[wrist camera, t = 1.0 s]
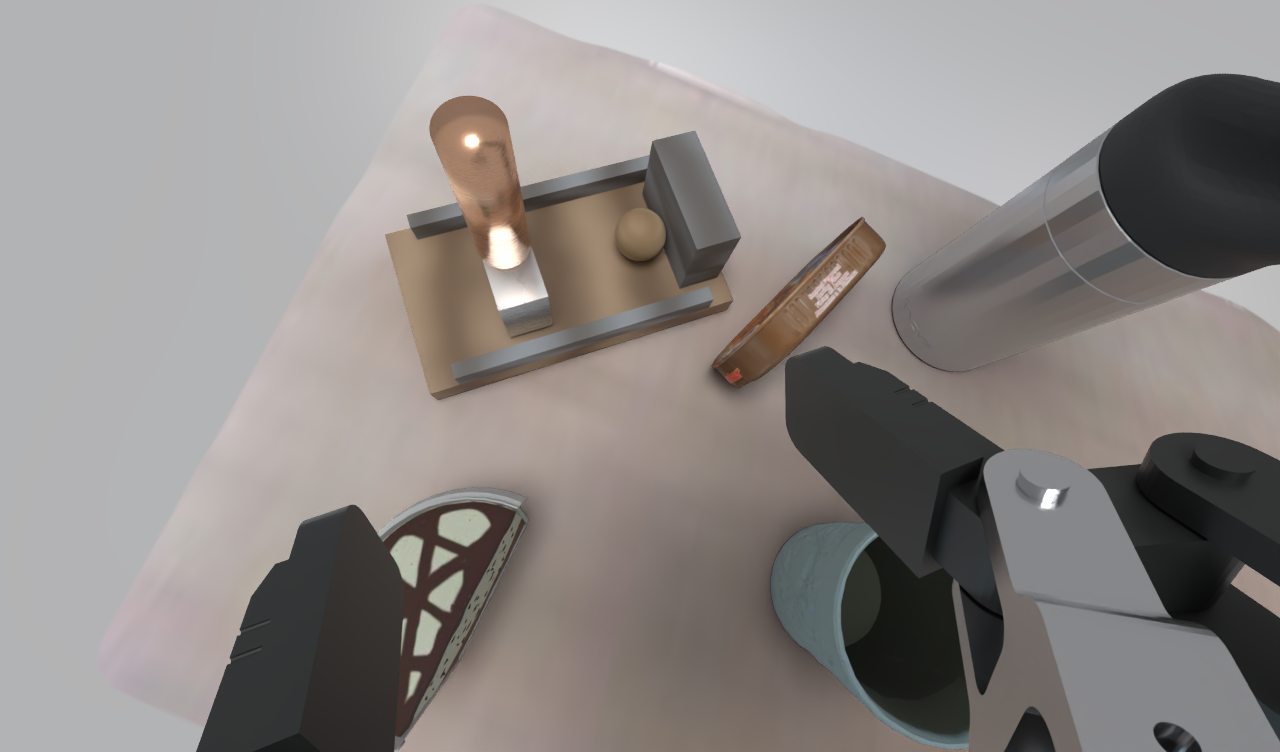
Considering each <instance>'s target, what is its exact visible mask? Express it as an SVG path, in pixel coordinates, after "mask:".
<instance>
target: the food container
mask: <svg viewBox="0 0 1280 752" xmlns="http://www.w3.org/2000/svg"><path fill="white" fill-rule="evenodd" d="M526 499H527V497H524V496H521V495H519V494H516V493H513V492H510V491H505V490H500V489H495V488H477V487H472V488H464V489H455V490H451V491H447V492H444V493H440V494H437V495H434V496H432V497H429V498H427V499H425V500H422V501H420V502H418V503H416V504H414V505H413V506H411V507H410V508H408V509H406V510H405V511H403V512H402V513H400V514H399V515H398V516H396V517H395V518H394V519H393V520H392V521H390V522H389V523H388V524H387V525H386V526H384V527H383V528H382V529H381V530H380V531H379V532H377V534H378V535H379V537H380V538H381V540H382V541H383V543H384V544H385V546H386V547H387V549H388V550H389V552H390V553H391V555H392V556H393V558H394V559H395V561H396V563H397V565H398V567H399V570H400V573H401V576H402V580H403V585H404V610H403V625H402V641H401V656H400V671H399V686H398V702H397V717H396V732H395V747H394V752H397V751H398V750H399V749H400V748H401V747H402V746H403V745H404V743H405V740H404V739H405V738H406V736H407V735H408V733H409V732H410V731H411V729H412V728H413V726H414V725H415V724H416V722H417V721H418V719H419V718H420V717H421V715H422V714H423V712H424V711H425V710H426V708H427V707H428V705H429V704H430V702H431V701H432V700H433V698H434V697H435V695H436V694H437V693H438V691H439V690H440V688H441V687H442V686H443V684H444V683H445V681H446V680H447V679H448V677H449V676H450V674H451V673H452V672H453V670H454V669H455V667H456V666H457V664H458V663H459V661H460V659H461V657H462V655H463V653H464V651H465V649H466V647H467V645H468V643H469V641H470V639H471V637H472V635H473V633H474V631H475V629H476V627H477V625H478V623H479V621H480V619H481V617H482V615H483V613H484V611H485V609H486V606H487V604H488V602H489V600H490V598H491V596H492V594H493V592H494V590H495V588H496V586H497V584H498V582H499V580H500V578H501V576H502V574H503V572H504V570H505V568H506V566H507V564H508V562H509V560H510V558H511V556H512V554H513V552H514V550H515V548H516V546H517V544H518V542H519V540H520V538H521V536H522V533H523V531H524V529H525V527H526V525H527V523H528V521H529V520H528V518H527V517H526V515H525V514H524V513H523V511H522V510H521V508H520V506H521V504H523V503H524V502H525V501H526Z"/></svg>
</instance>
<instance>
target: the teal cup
mask: <svg viewBox="0 0 1280 752" xmlns="http://www.w3.org/2000/svg"><path fill="white" fill-rule="evenodd" d="M953 579H954V578H953V577H952V576H951V575H950V574H949V573H948V572H947V571H946V570H945V569H944V568H941V569H939V570H936V571H934V572H932V573H930V574H927V575H925V576H923V577H921V578H918V577H917V576H916V575H915V574H914V573H913V572H912V571H911V570H910V569H909V567H908V566H907V565H906V564H905V563H904V562H903V561H902V560H901V559H900V558H899V557H898V556H897V555H896V554H895V553H894V552H893V550H892V549H891V548H890V547H889V546H888V545H887V544H886V543H885V542H884V541H883V540H882V539H881V538H880V537H879V536H878V535H877V534H876V532H875V531H874V530H873V529H872V528H871V527H870V526H869V525H868V524H867V523H854V522H849V523H847V522H835V523H822V524H816V525H812V526H809V527H806V528H804V529H802V530H800V531H799V532H797V533H796V534H795V535H793V536H792V537H791V538H790V539H789V540H788V541H787V542H786V543H785V544H784V546H783V547H782V549H781V550H780V552H779V553H778V555H777V557H776V560H775V562H774V565H773V569H772V574H771V597H772V601H773V605H774V609H775V611H776V614H777V616H778V618H779V620H780V622H781V624H782V626H783V627H784V628H785V630H786V631H787V633H788V634H789V635H790V636H791V637H792V638H793V639H794V640H795V641H796V642H797V643H798V644H799V645H800V646H801V647H803V648H804V649H806V650H807V651H809V652H810V653H811V654H812V655H813V656H814V657H815V658H816V660H817V661H818V662H819V663H821V664H822V665H824V666H825V667H826V668H827V669H829V670H830V671H831V672H832V673H833V674H834V675H835V676H836V677H837V678H838V680H839V681H840V682H841V683H842V684H843V685H844V686H845V687H846V688H847V689H848V690H849V691H850V692H851V693H852V694H853V695H855V696H856V697H857V698H858V699H859V700H860V701H861V702H862V703H863V704H864V705H865V706H866V707H867V708H868V709H869V710H870V711H871V712H872V713H873V714H874V715H875V716H876V717H877V718H879V719H880V720H881V721H882V722H883V723H885V724H886V725H887V726H889V727H890V728H892V729H893V730H895V731H897V732H899V733H901V734H903V735H905V736H907V737H909V738H910V739H913V740H915V741H917V742H919V743H922V744H926V745H930V746H935V747H939V748H943V749H965V748H969V728H970V705H969V697H968V690H967V684H966V678H965V671H964V665H963V659H962V653H961V646H960V640H959V634H958V627H957V621H956V615H955V608H954V602H953V596H952V583H953Z"/></svg>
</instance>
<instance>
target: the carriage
mask: <svg viewBox="0 0 1280 752" xmlns="http://www.w3.org/2000/svg"><path fill="white" fill-rule="evenodd" d="M430 136H431V139H432V141H433V143H434V146H435V148H436V151H437V153H438V156H439V158H440V161H441V163H442V165H443V168H444V170H445V173H446V175H447V178H448V180H449V182H450V185H451V187H452V190H453V192H454V195H455V197H456V199H457V202H458V204H459V207H460V209H461V212H462V214H463V216H464V219H465V221H466V224H467V226H468V229H469V231H470V234H471V236H472V238H473V241H474V243H475V246H476V248H477V251H478V253H479V255H480V257H481V258H482V260H483V263H484V267H485V270H486V273H487V276H488V279H489V282H490V285H491V289H492V292H493V295H494V298H495V301H496V304H497V307H498V310H499V313H500V315H501V318H502V320H503V322H504V325H505V327H506V329H507V332H508V334H509V336H510V337H514V336H517V335H520V334H524V333H527V332H530V331H534V330H537V329H540V328H544V327H547V326H550V325H553V322H552V316H551V310H550V303H549V297H548V294H547V291H546V288H545V285H544V282H543V279H542V276H541V273H540V270H539V268H538V265H537V262H536V259H535V256H534V253H533V250H532V247H531V239H530V234H529V229H528V224H527V219H526V214H525V208H524V203H523V198H522V193H521V188H520V183H519V178H518V172H517V167H516V162H515V157H514V152H513V147H512V142H511V137H510V131H509V126H508V122H507V119H506V117H505V115H504V113H503V112H502V110H501V109H500V108H499V107H498V106H497V105H495V104H494V103H493V102H491V101H489V100H487V99H484V98H481V97H476V96H461V97H456V98H453V99H451V100H448V101H447V102H445V103H443V104H442V105H441V106H440V107H439V108H438V109H437V110H436V111H435V113H434V114H433V116H432V118H431V121H430Z"/></svg>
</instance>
